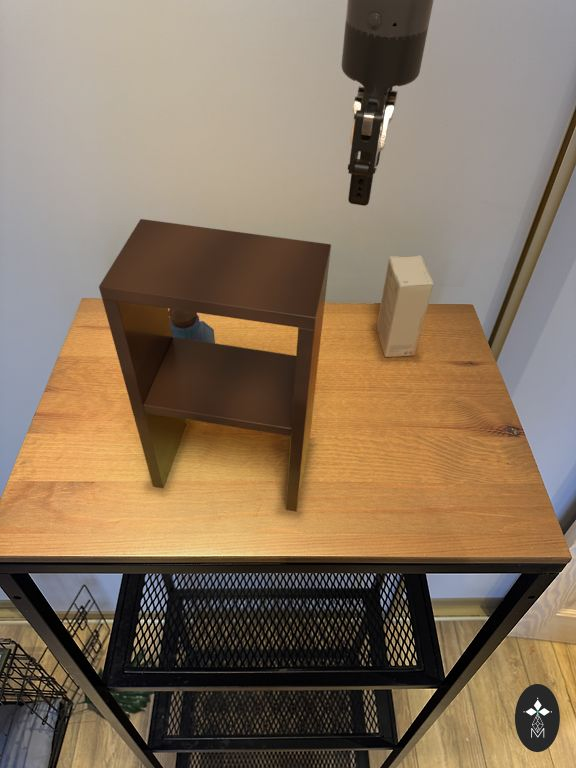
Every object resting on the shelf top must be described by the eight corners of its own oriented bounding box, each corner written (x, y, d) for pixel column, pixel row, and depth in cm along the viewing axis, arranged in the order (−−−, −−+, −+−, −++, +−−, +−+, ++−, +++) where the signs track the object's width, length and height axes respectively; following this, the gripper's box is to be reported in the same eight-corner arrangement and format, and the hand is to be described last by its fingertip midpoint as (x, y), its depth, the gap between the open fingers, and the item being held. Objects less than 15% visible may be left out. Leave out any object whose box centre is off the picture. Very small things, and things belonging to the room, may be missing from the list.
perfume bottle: (168, 365, 75) (156, 294, 65) (216, 363, 75) (210, 292, 66) (166, 402, 70) (152, 332, 61) (217, 400, 71) (210, 330, 62)
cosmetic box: (415, 356, 77) (436, 286, 68) (382, 358, 77) (399, 287, 68) (404, 324, 81) (423, 254, 72) (374, 326, 81) (388, 255, 72)
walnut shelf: (309, 444, 67) (331, 243, 46) (296, 512, 61) (315, 318, 40) (177, 422, 69) (140, 218, 47) (152, 486, 63) (98, 286, 42)
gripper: (424, 50, 47) (390, 223, 59) (433, -1, 56) (403, 157, 68) (333, 39, 48) (319, 212, 60) (357, -9, 57) (340, 149, 69)
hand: (363, 183), depth 64 cm, fingers open, 8 cm apart
